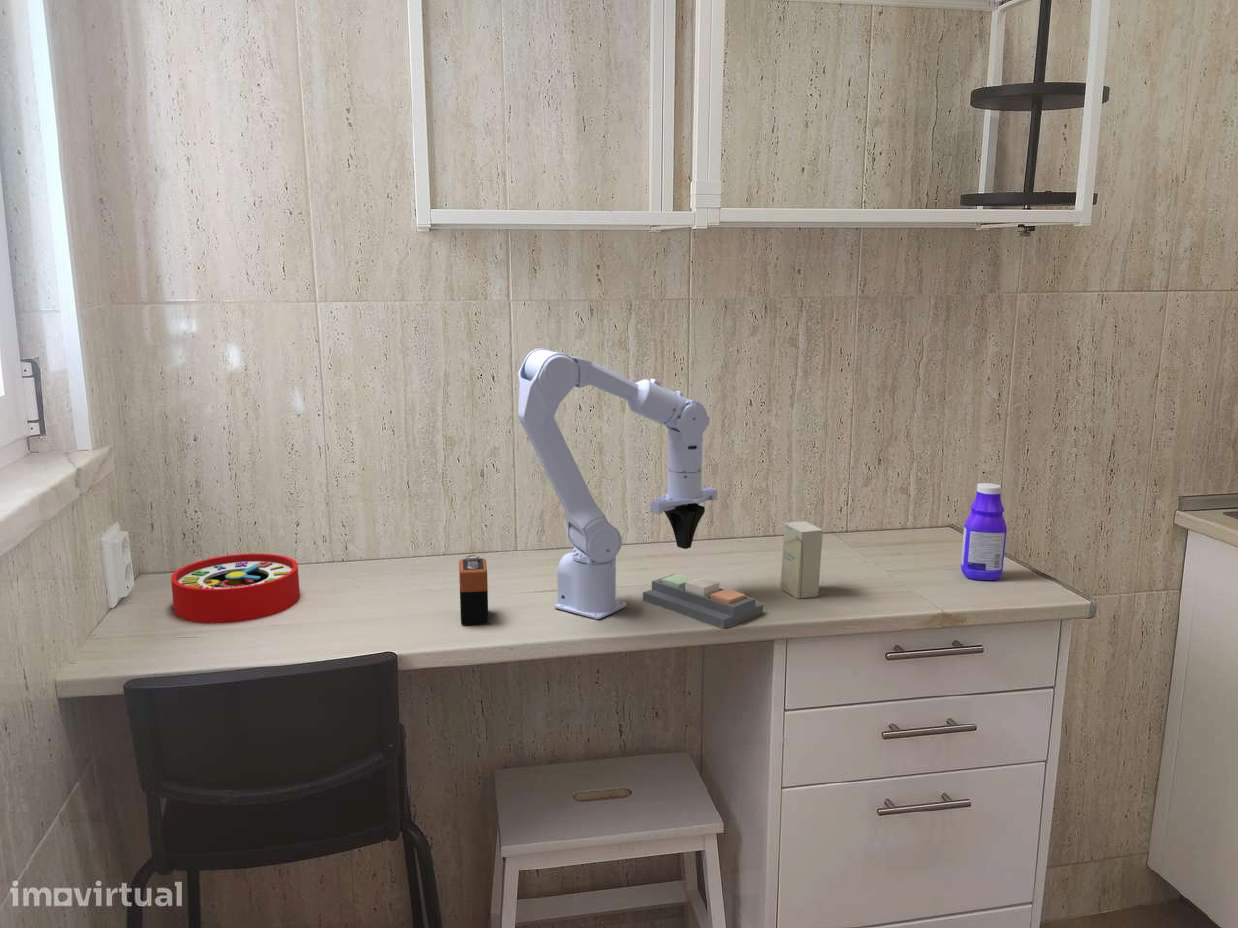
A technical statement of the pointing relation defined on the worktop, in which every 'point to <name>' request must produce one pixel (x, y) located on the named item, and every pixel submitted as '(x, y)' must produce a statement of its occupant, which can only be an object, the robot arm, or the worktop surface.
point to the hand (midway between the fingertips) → (683, 547)
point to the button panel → (701, 605)
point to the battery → (473, 590)
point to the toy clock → (235, 588)
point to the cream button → (702, 586)
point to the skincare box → (801, 559)
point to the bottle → (984, 535)
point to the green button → (676, 580)
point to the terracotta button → (727, 596)
